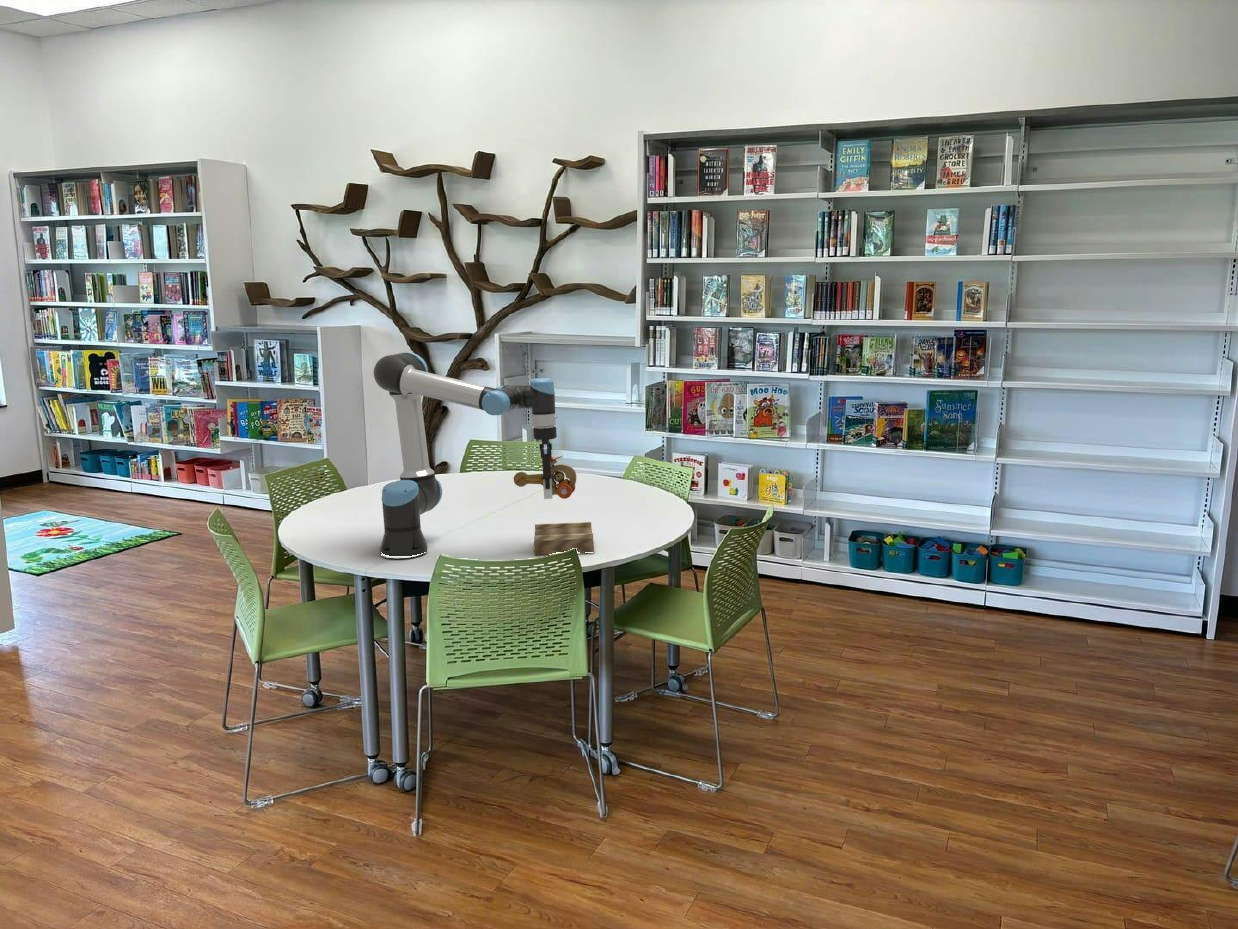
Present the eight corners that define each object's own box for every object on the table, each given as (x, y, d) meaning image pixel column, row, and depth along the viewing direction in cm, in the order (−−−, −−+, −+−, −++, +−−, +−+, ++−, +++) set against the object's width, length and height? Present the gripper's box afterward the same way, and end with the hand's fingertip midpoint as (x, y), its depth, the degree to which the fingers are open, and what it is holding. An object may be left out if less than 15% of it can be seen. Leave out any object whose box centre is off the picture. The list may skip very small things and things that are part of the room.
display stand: (534, 556, 302) (534, 536, 301) (535, 542, 318) (534, 524, 317) (593, 553, 304) (593, 534, 302) (591, 540, 319) (591, 521, 318)
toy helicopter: (574, 499, 302) (572, 457, 299) (512, 499, 305) (509, 458, 302) (579, 493, 310) (577, 452, 307) (517, 493, 313) (515, 453, 310)
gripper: (556, 430, 293) (559, 502, 297) (556, 421, 313) (559, 489, 317) (532, 431, 293) (536, 503, 297) (533, 422, 312) (537, 490, 316)
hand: (548, 495), depth 307 cm, fingers closed on toy helicopter, 7 cm apart
